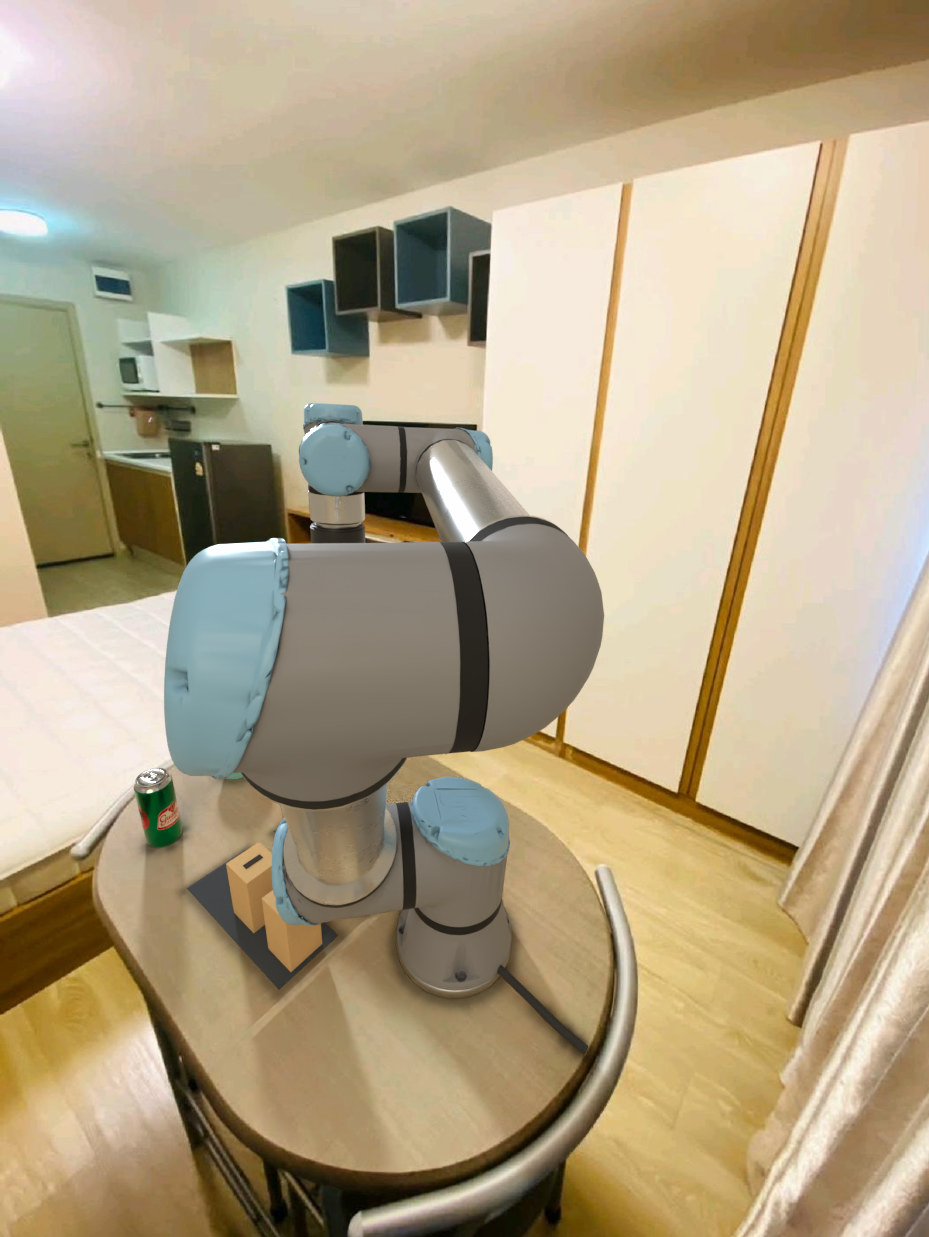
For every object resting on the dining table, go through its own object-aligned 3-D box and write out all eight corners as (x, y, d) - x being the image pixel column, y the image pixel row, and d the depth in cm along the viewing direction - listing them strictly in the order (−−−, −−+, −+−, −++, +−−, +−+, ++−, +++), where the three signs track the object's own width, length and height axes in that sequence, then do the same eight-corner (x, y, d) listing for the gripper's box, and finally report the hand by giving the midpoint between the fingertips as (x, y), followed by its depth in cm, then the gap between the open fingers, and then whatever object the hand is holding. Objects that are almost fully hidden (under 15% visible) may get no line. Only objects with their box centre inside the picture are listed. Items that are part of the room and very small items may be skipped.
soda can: (167, 853, 80) (154, 790, 75) (139, 846, 81) (123, 784, 76) (190, 829, 84) (178, 769, 80) (162, 823, 85) (149, 763, 81)
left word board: (338, 937, 69) (335, 884, 65) (279, 991, 62) (272, 937, 58) (245, 851, 81) (238, 803, 77) (187, 889, 74) (176, 839, 70)
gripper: (383, 508, 84) (384, 628, 92) (240, 530, 65) (257, 678, 74) (417, 515, 80) (415, 640, 88) (275, 541, 61) (289, 697, 69)
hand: (343, 658), depth 81 cm, fingers open, 13 cm apart
